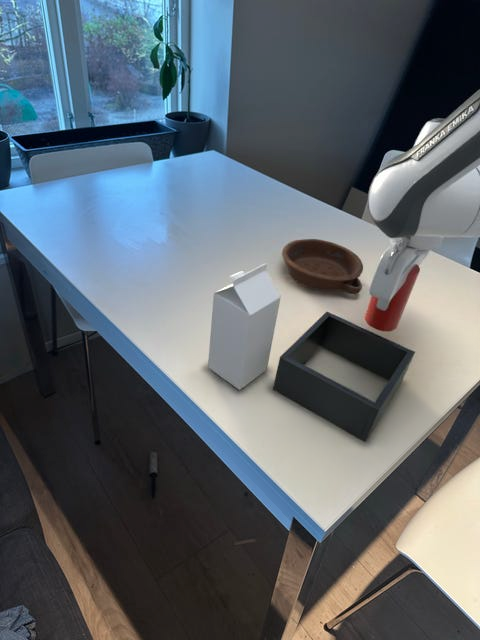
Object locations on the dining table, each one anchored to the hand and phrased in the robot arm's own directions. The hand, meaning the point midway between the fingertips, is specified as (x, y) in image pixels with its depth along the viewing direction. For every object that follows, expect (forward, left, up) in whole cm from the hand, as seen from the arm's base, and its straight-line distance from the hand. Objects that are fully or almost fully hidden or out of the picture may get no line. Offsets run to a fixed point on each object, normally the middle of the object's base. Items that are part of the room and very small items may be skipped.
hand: (389, 298), depth 79 cm
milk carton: (+15, +24, -10) cm, 30 cm away
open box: (0, +16, -10) cm, 19 cm away
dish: (+19, -13, -10) cm, 25 cm away
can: (0, 0, -5) cm, 5 cm away
